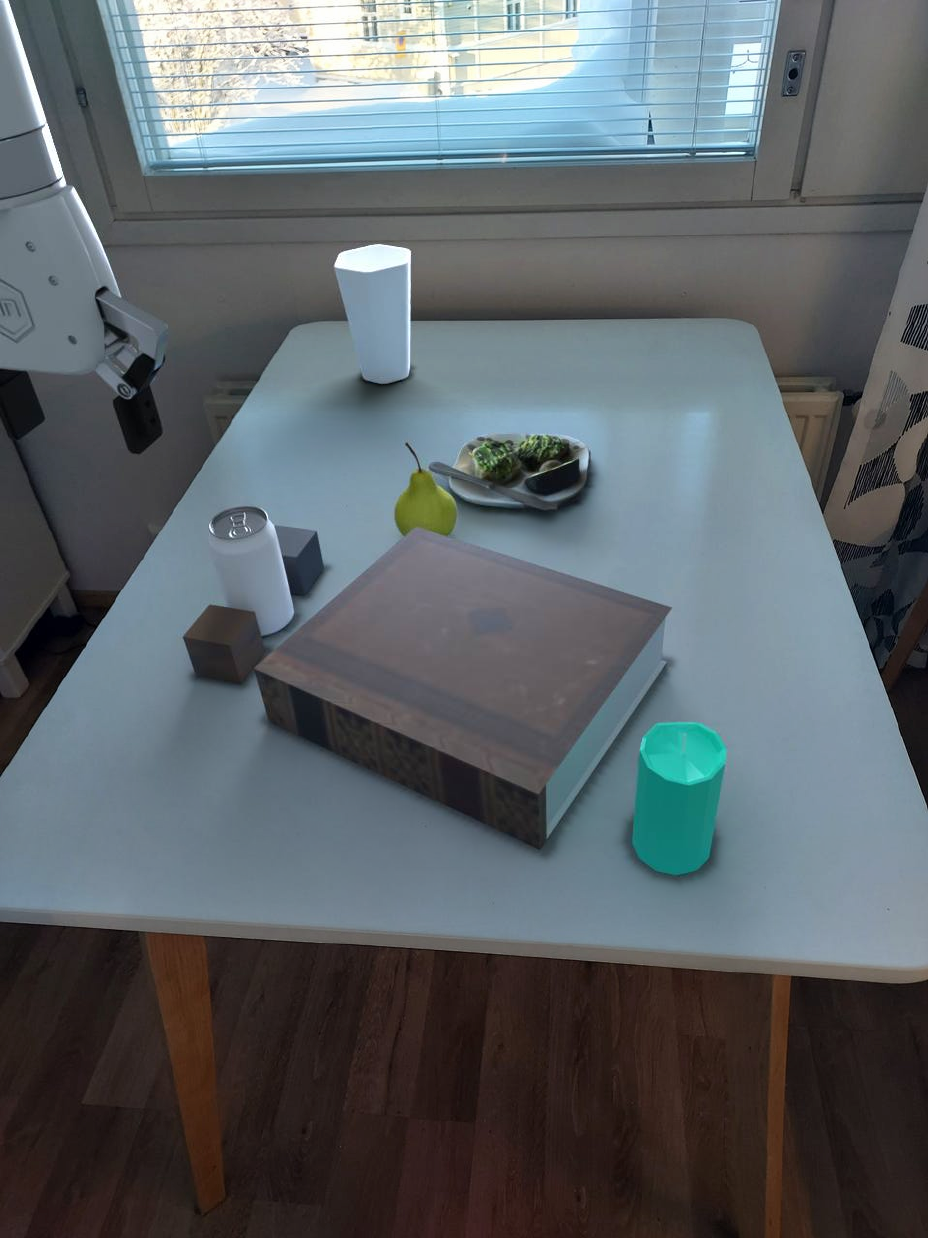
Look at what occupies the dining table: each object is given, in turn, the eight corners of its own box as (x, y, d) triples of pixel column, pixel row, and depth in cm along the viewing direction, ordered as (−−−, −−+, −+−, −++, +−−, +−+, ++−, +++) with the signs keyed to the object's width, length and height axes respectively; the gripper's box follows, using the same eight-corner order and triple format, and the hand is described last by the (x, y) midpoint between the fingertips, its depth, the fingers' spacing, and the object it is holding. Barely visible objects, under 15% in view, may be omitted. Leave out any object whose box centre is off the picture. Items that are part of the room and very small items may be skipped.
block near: (195, 676, 90) (182, 636, 86) (221, 642, 93) (209, 603, 90) (241, 684, 88) (229, 645, 85) (265, 650, 92) (255, 611, 89)
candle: (723, 830, 72) (742, 721, 64) (694, 888, 68) (711, 780, 60) (650, 800, 74) (661, 692, 67) (618, 854, 71) (626, 747, 63)
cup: (417, 388, 135) (405, 269, 124) (348, 391, 135) (330, 273, 124) (423, 356, 143) (412, 242, 132) (358, 358, 144) (342, 245, 133)
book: (539, 849, 71) (538, 794, 67) (268, 721, 84) (253, 668, 80) (666, 662, 87) (672, 607, 83) (421, 577, 99) (415, 526, 95)
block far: (262, 589, 100) (253, 551, 96) (283, 562, 103) (275, 524, 100) (304, 595, 98) (296, 557, 95) (324, 568, 102) (317, 530, 99)
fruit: (471, 539, 104) (465, 444, 97) (427, 566, 101) (416, 470, 93) (430, 517, 108) (420, 424, 101) (385, 542, 105) (372, 448, 97)
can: (234, 645, 93) (205, 546, 85) (229, 606, 98) (202, 510, 90) (298, 631, 94) (276, 532, 86) (290, 593, 99) (268, 497, 91)
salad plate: (413, 513, 109) (409, 479, 106) (447, 439, 122) (445, 407, 119) (578, 525, 105) (578, 490, 102) (595, 447, 118) (596, 414, 115)
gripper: (-180, 183, 52) (-53, 451, 63) (76, 190, 48) (165, 479, 58) (-82, 149, 58) (19, 401, 69) (156, 152, 53) (224, 423, 64)
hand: (86, 437), depth 64 cm, fingers open, 9 cm apart
